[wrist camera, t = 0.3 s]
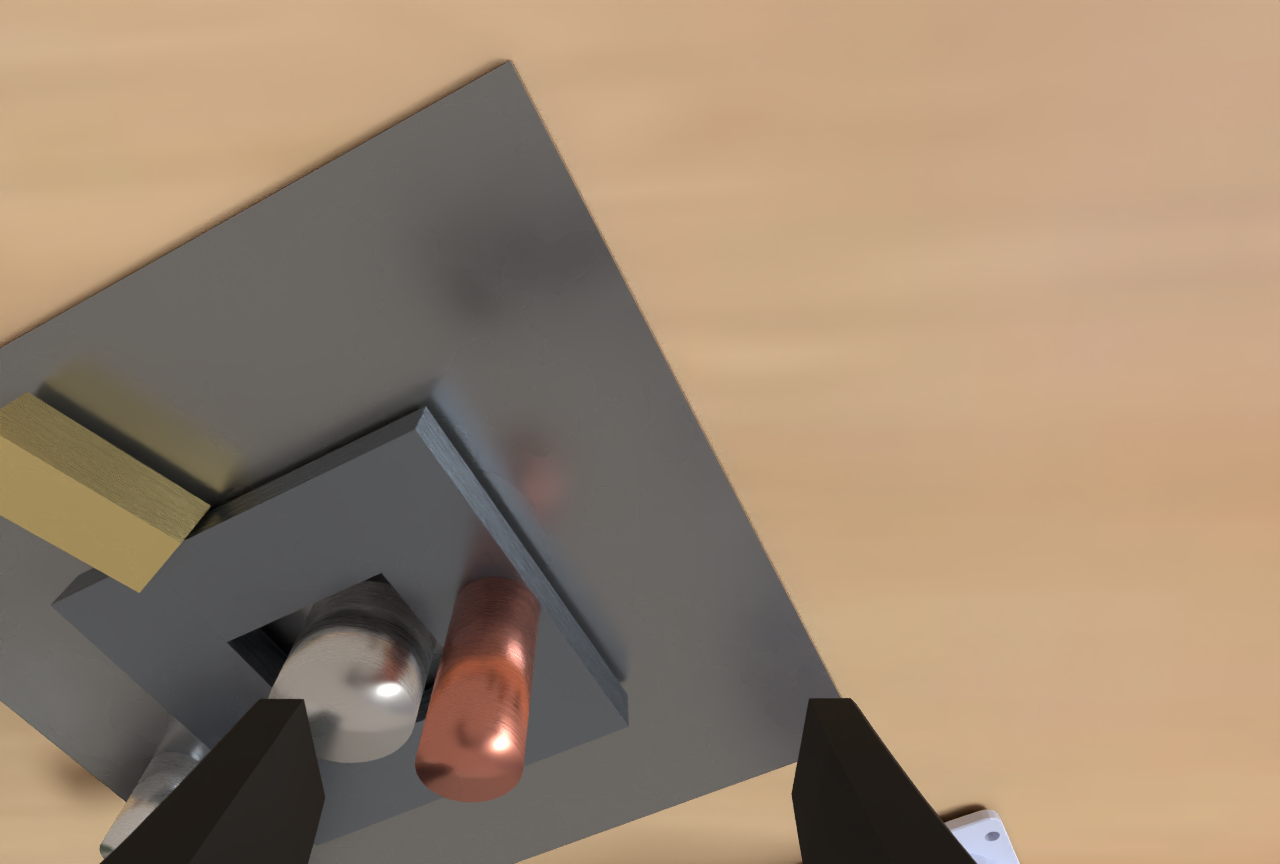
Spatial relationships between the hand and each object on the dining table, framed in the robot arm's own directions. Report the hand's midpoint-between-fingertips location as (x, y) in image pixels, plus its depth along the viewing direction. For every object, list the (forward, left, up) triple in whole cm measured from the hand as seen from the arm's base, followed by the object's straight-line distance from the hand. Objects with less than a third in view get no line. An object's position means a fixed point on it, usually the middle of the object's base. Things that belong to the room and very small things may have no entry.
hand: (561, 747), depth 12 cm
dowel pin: (-5, +17, -10) cm, 20 cm away
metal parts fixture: (-1, +8, -9) cm, 12 cm away
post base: (-3, +8, -10) cm, 13 cm away
